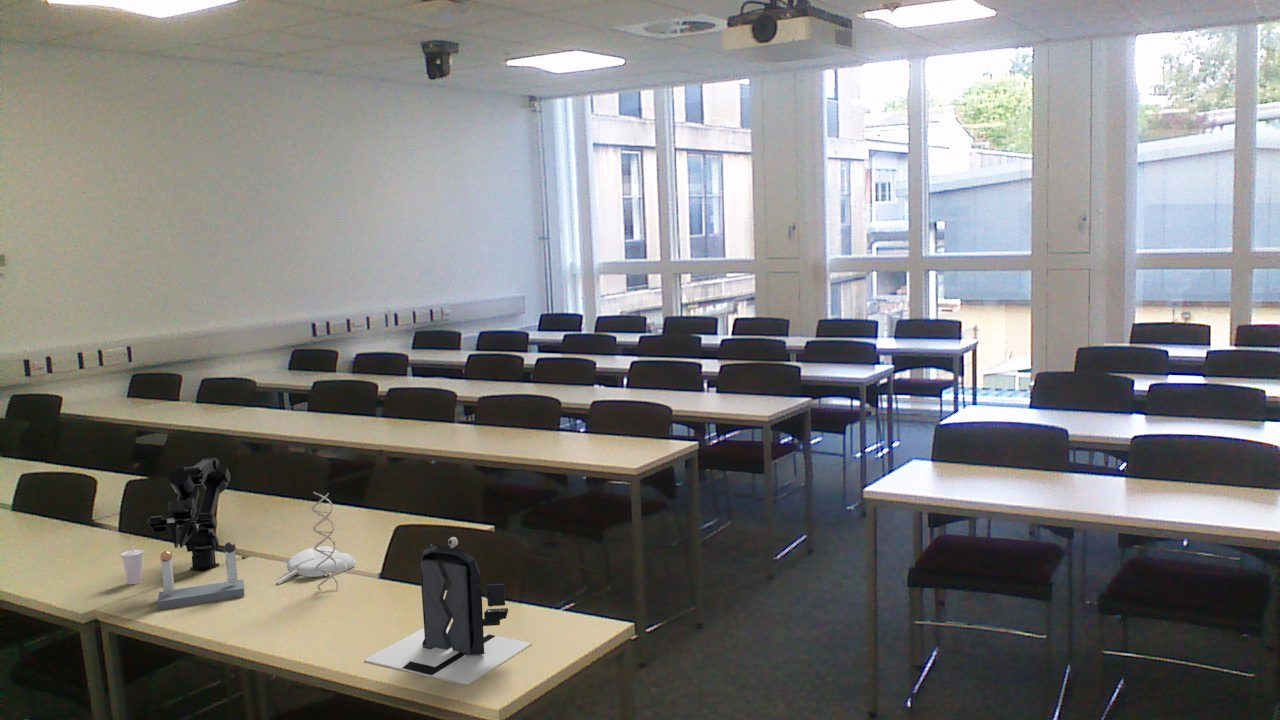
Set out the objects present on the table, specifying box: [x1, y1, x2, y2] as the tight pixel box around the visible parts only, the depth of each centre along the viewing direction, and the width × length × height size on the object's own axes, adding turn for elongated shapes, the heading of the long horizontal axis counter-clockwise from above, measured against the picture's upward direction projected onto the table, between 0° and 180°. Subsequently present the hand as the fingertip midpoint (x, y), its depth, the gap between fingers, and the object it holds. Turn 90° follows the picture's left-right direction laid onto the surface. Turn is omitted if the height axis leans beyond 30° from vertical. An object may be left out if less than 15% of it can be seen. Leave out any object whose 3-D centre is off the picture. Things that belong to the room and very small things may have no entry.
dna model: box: [311, 491, 339, 591], centre depth 287 cm, size 7×6×30 cm
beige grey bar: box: [223, 542, 239, 584], centre depth 288 cm, size 3×3×12 cm
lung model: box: [275, 545, 356, 583], centre depth 305 cm, size 7×17×25 cm
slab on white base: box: [364, 536, 532, 686], centre depth 238 cm, size 32×25×28 cm
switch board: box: [156, 578, 245, 611], centre depth 285 cm, size 9×23×2 cm, turn 113°
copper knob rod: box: [159, 550, 176, 593], centre depth 281 cm, size 3×3×12 cm
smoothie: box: [120, 538, 145, 586], centre depth 301 cm, size 6×6×14 cm
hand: (178, 547), depth 291 cm, fingers closed
